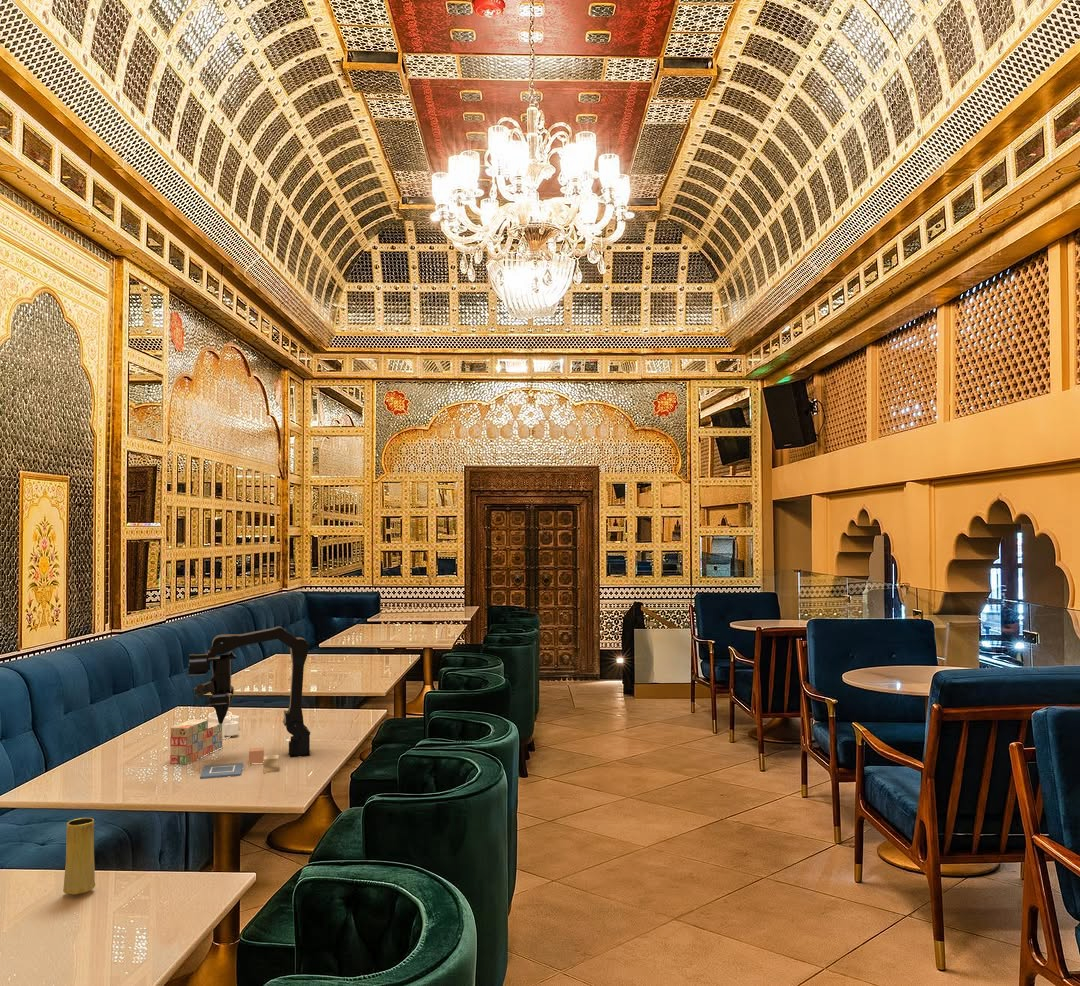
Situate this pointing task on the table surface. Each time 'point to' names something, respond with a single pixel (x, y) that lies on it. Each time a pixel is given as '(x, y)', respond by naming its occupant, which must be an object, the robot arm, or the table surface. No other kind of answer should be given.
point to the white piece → (226, 723)
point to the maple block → (271, 763)
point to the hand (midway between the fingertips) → (222, 720)
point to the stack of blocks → (194, 740)
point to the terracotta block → (256, 755)
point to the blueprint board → (221, 770)
